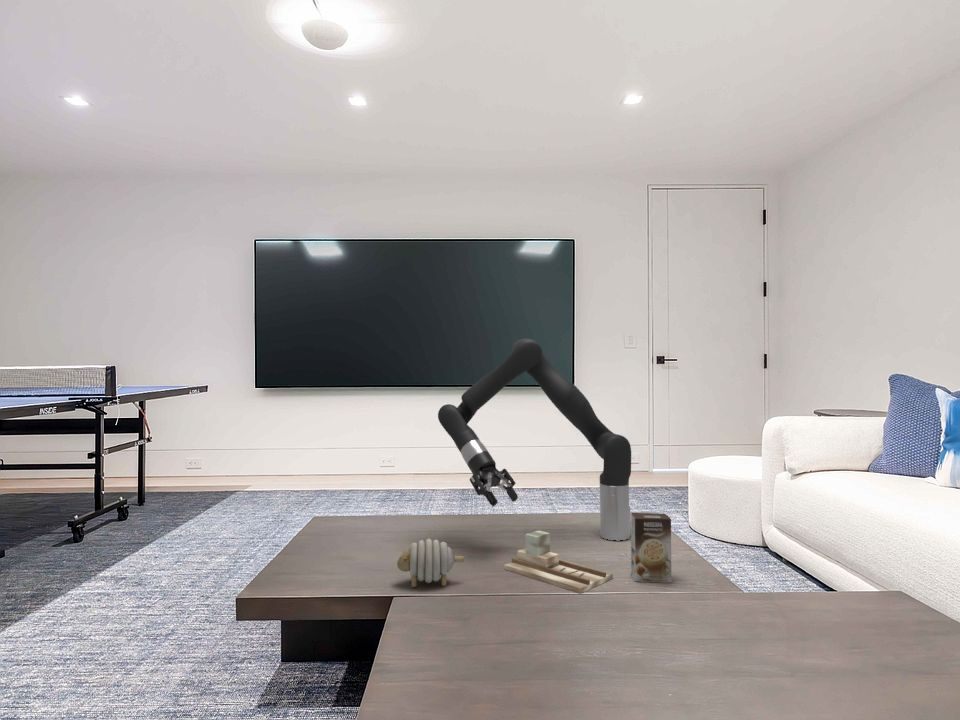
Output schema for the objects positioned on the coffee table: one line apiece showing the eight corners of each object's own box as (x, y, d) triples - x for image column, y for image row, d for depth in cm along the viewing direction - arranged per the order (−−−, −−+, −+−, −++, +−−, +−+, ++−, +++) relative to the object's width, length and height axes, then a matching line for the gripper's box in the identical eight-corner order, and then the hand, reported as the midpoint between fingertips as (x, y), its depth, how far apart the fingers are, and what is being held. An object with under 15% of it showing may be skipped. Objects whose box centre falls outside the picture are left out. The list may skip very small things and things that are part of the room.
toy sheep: (396, 578, 148) (396, 535, 148) (461, 574, 151) (460, 532, 151) (397, 593, 138) (397, 547, 138) (466, 588, 140) (466, 543, 141)
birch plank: (537, 557, 164) (537, 549, 164) (612, 578, 146) (612, 569, 146) (504, 569, 154) (504, 560, 154) (580, 593, 137) (580, 584, 137)
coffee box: (635, 582, 144) (634, 518, 144) (631, 573, 150) (629, 512, 150) (672, 583, 143) (671, 518, 143) (666, 574, 149) (665, 512, 150)
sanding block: (530, 557, 161) (530, 528, 161) (558, 565, 153) (558, 535, 154) (517, 561, 157) (517, 532, 157) (546, 570, 150) (545, 539, 150)
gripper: (466, 452, 165) (495, 498, 157) (500, 448, 175) (528, 490, 167) (454, 468, 169) (481, 514, 161) (488, 463, 179) (515, 506, 171)
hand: (505, 502), depth 164 cm, fingers open, 8 cm apart
